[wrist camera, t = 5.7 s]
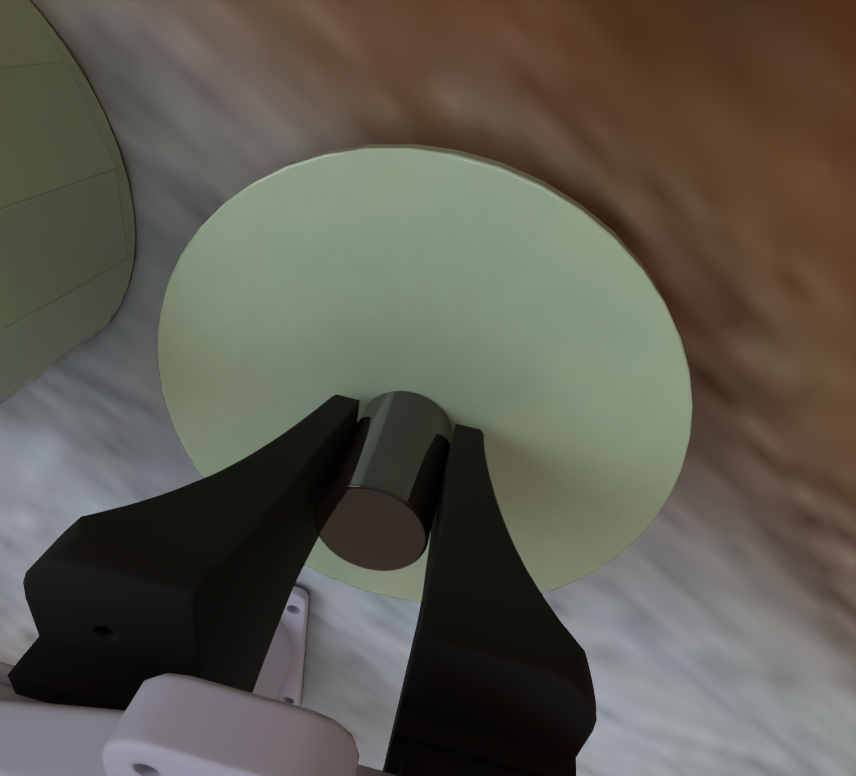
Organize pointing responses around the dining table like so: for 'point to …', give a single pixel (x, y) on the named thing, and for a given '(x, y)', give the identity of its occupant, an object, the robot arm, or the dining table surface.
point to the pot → (54, 203)
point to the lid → (431, 355)
